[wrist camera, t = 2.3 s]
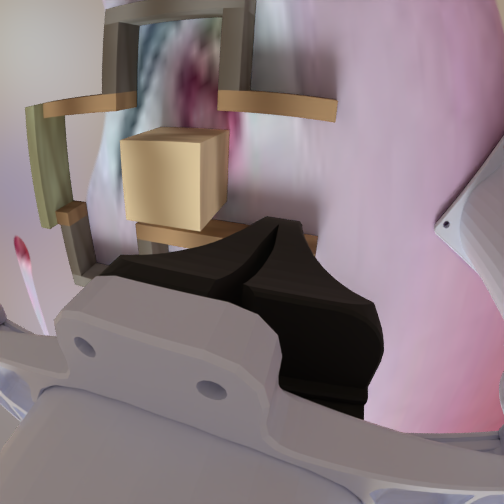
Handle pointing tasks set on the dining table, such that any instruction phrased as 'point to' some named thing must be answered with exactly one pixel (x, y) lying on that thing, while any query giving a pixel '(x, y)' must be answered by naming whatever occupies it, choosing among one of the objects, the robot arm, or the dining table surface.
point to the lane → (125, 96)
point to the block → (175, 176)
